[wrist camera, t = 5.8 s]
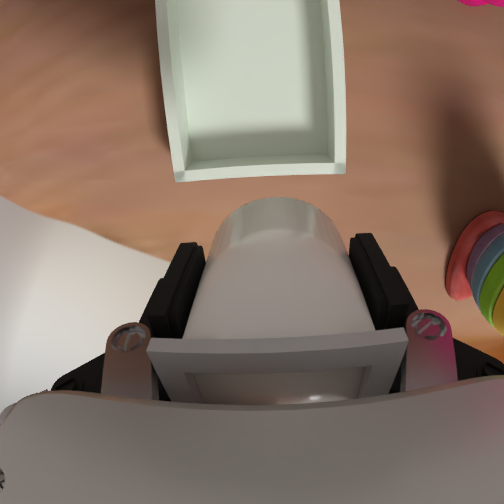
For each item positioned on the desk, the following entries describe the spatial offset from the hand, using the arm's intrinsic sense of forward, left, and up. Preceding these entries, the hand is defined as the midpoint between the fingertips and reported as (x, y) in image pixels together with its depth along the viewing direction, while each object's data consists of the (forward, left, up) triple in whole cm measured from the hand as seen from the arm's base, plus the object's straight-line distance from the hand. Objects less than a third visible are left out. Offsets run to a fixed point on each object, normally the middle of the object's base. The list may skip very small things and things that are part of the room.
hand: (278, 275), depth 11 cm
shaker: (0, 0, -1) cm, 1 cm away
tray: (+1, -11, -15) cm, 19 cm away
